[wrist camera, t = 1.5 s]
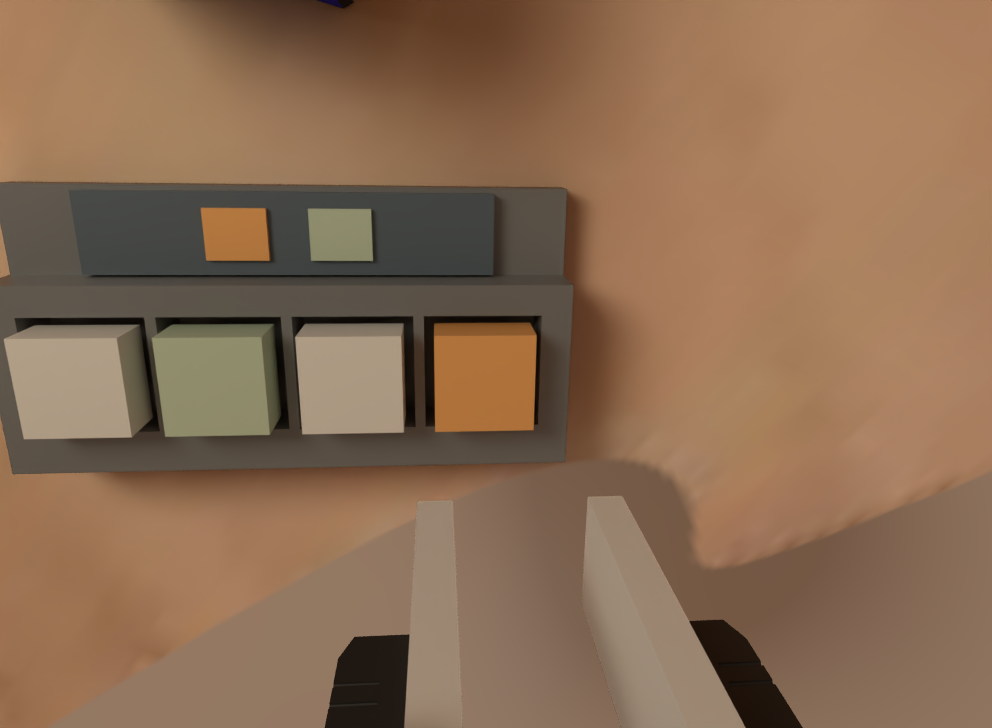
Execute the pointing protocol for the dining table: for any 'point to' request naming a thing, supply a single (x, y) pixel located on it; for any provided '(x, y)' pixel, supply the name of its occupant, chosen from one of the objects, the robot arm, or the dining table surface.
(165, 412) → the key sage
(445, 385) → the key orange
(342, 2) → the puzzle cube
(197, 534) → the dining table surface
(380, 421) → the key grey mid
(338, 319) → the keypad
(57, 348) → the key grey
